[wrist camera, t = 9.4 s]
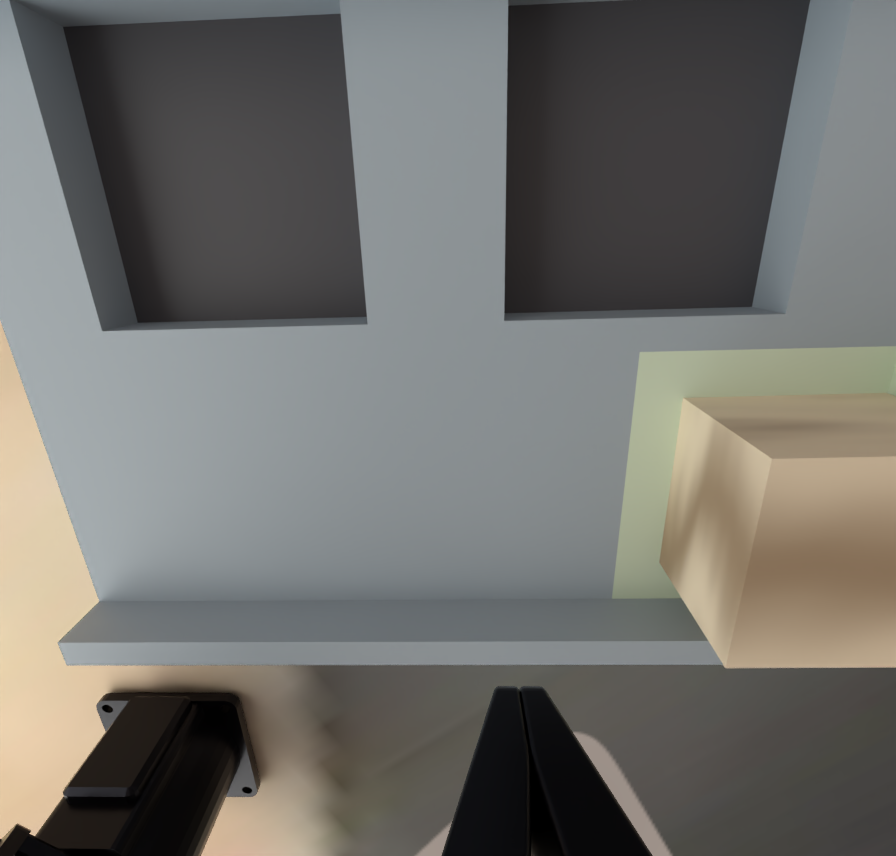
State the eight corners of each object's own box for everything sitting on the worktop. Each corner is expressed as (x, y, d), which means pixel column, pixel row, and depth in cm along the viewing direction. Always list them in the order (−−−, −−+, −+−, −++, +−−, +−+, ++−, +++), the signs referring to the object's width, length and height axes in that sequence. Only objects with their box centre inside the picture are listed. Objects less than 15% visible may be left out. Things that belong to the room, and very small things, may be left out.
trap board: (821, 583, 19) (936, 691, 15) (139, 587, 20) (43, 690, 16) (1014, -62, 12) (1356, -252, 8) (-47, -9, 13) (-324, -148, 9)
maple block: (835, 560, 17) (963, 667, 12) (659, 562, 17) (725, 668, 13) (886, 392, 14) (1059, 453, 10) (683, 397, 15) (772, 458, 10)
